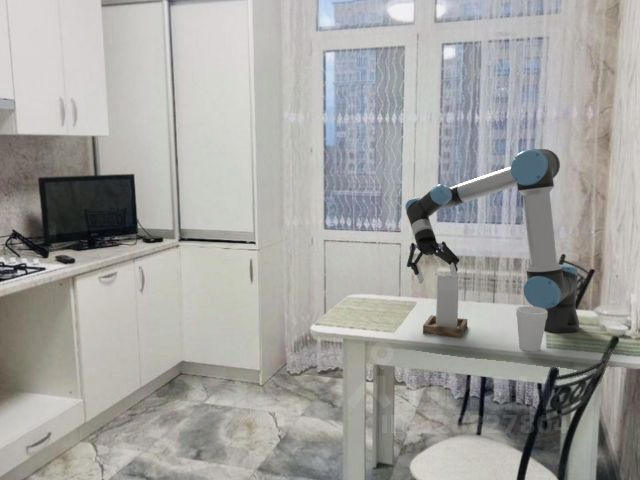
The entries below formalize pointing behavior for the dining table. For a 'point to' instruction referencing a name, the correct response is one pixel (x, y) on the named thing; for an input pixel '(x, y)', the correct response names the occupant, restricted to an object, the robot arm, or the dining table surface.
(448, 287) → the milk carton
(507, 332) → the dining table surface
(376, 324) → the dining table surface
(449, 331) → the tray
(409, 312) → the dining table surface
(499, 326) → the dining table surface
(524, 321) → the foam cup
